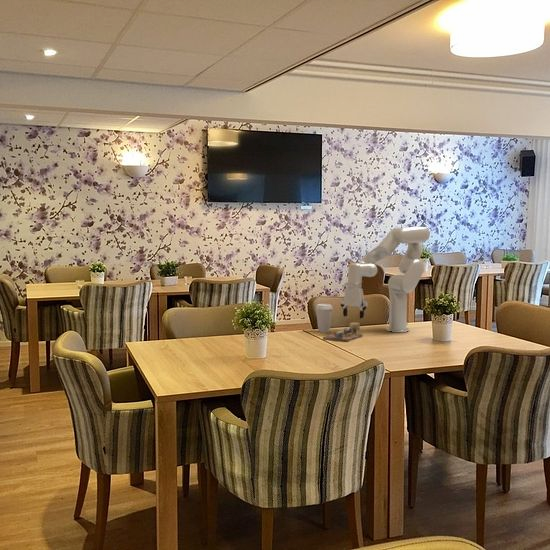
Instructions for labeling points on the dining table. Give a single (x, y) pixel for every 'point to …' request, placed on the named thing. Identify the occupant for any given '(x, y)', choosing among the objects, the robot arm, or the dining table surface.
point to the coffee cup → (324, 317)
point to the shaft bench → (343, 335)
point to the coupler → (355, 327)
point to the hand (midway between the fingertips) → (353, 317)
